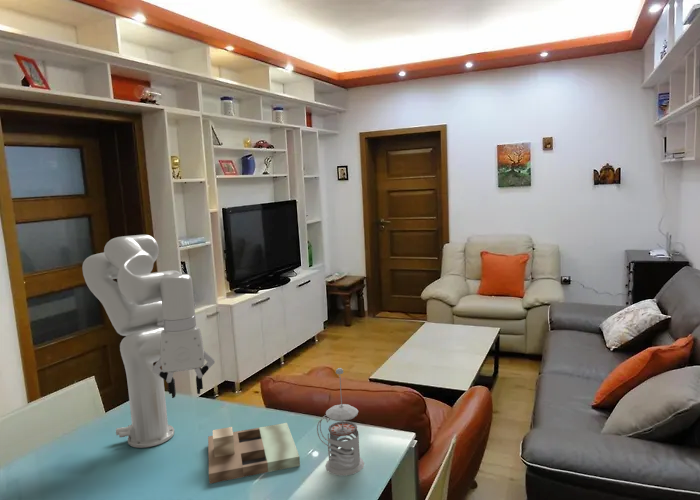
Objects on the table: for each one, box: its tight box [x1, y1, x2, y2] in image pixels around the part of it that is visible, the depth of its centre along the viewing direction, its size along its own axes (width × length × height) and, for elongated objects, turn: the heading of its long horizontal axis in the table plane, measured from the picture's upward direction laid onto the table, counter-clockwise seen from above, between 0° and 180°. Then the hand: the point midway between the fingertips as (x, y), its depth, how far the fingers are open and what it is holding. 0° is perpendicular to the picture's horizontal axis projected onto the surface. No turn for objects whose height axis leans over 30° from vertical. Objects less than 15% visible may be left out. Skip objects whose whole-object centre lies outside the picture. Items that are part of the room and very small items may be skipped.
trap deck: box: [207, 422, 301, 485], centre depth 133 cm, size 22×20×2 cm
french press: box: [316, 367, 365, 477], centre depth 125 cm, size 10×12×25 cm
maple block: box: [212, 426, 235, 457], centre depth 131 cm, size 5×5×5 cm
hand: (186, 393), depth 127 cm, fingers open, 5 cm apart
